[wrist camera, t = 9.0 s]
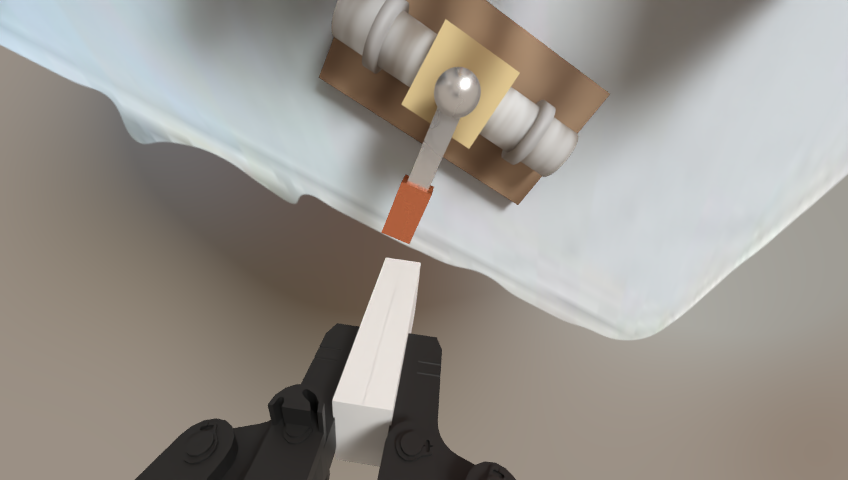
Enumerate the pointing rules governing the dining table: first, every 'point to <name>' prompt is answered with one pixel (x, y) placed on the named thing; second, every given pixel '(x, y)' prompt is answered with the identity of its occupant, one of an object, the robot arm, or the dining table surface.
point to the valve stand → (493, 66)
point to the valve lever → (432, 150)
